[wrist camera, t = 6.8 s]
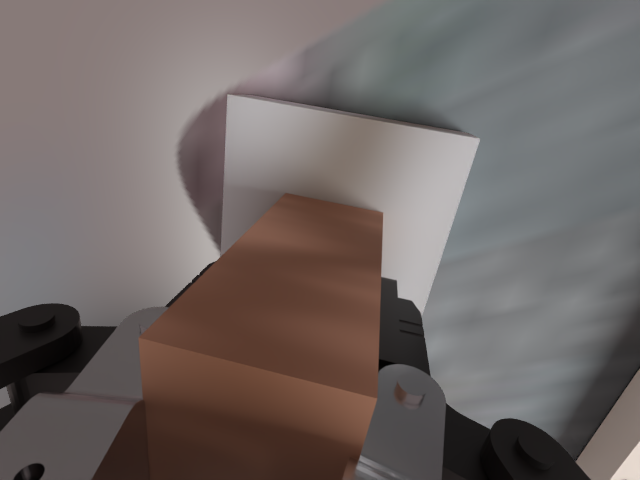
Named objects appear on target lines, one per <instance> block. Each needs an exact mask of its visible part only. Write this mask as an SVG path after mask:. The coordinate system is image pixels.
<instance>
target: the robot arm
mask: <svg viewBox="0 0 640 480" xmlns="http://www.w3.org/2000/svg"><path fill="white" fill-rule="evenodd" d="M215 262H216V261H215ZM215 262H213V263H211V264H209V265H208V266H207V267H206V268H205V269H203V270H202V271H201V272H200V274H199V275H197V276H196V277H195V278H194V279H193V280H192V283H189V284H188V285H187V286H186V287H185V288H184V289H183V290H182V291H181V292H180V293H178V295H176V296H175V297H174V299H172V300H171V301H170V302H169V303H168V304H167V305H166V306H165V307H151V308H146V309H142V310H139V311H137V312H134V313H132V314H131V315H129V316H128V317H126V318H125V319H124V320H123V321H122V322H121V323H120V325H119V326H117V327H103V326H101V327H100V326H97V327H96V326H81V322H80V316H79V313H78V311H77V310H76V309H75V308H73V307H71V306H69V305H64V304H41V305H36V306H31V307H27V308H24V309H21V310H18V311H15V312H13V313H9V314H7V315H4V316H1V317H0V389H1V388H3V387H5V386H6V387H7V391H8V394H9V398H10V401H11V404H9V405H7V406H5V407H3V408H1V409H0V480H150V475H149V461H148V438H147V423H146V408H145V401H144V400H143V394H142V380H141V366H140V353H139V339H138V338H139V337H140V336H141V335H142V334H143V333H144V332H145V331H146V330H147V329H148V328H149V327H150V326H151V325H152V324H153V323H154V322H155V321H156V320H157V319H158V318H159V317H160V316H161V315H162V314H163V313H164V312H165V311H166V310H167V309H168V308H169V307H170V306H171V305H172V304H173V303H174V302H175V301H176V300H177V299H178V298H179V297H180V296H181V295H182V294H183V293H184V292H185V291H186V290H187V289H188V288H190V287H191V286H192V285H193V284H194V283H195V282H196V281H197V280H198V279H199V278H200V277H201V276H202V275H203V274H204V273H205V272H206V271H207V270H208V269H209V268H210V267H211V266H212V265H213V264H214V263H215ZM422 325H423V324H422V317H421V312H420V311H419V310H418V308H417V307H416V306H415V304H414V303H413V301H411V300H407V299H402V298H398V290H397V280H394V279H389V278H385V277H381V300H380V331H379V363H378V394H377V401H376V405H375V408H374V411H373V415H372V418H371V421H370V425H369V428H368V431H367V435H366V438H365V441H364V445H363V448H362V451H361V454H360V458H359V461H358V460H356V459H354V458H352V457H350V458H349V460H348V463H347V466H346V469H345V472H344V476H343V479H342V480H591V479H590V478H589V477H588V476H587V475H586V474H585V472H584V471H583V470H582V469H581V468H580V467H579V465H578V464H577V463H576V462H575V461H574V460H573V459H572V457H571V456H570V455H569V454H568V453H567V452H566V451H565V449H564V448H563V447H562V446H561V445H560V444H559V443H558V442H557V441H556V440H554V439H553V438H552V437H551V436H550V435H548V434H547V433H546V432H544V431H543V430H541V429H539V428H538V427H536V426H534V425H532V424H530V423H527V422H525V421H521V420H518V419H511V418H508V419H501V420H499V421H497V422H496V423H495V424H493V426H492V428H491V430H490V429H488V428H486V427H485V426H483V425H481V424H479V423H477V422H475V421H473V420H471V419H469V418H467V417H465V416H463V415H462V414H460V413H458V412H457V411H455V410H454V409H453V408H451V407H450V406H449V405H448V404H447V403H446V399H445V395H444V393H443V391H442V389H441V387H440V386H439V385H438V383H437V382H436V381H435V380H434V379H433V378H432V377H431V376H430V370H429V363H428V357H427V350H426V343H425V338H424V330H423V327H422Z"/></svg>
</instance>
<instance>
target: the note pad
mask: <svg viewBox="0 0 640 480" xmlns="http://www.w3.org/2000/svg"><path fill="white" fill-rule="evenodd" d="M576 463H577V464H578V465H579V467H580V468H581V469H582V470H583V471H584V472H585V474H586V475H587V476H588V477H589V478H590V479H591V480H640V369H639V370H638V372H637V373H636V374H635V376H634V377H633V379H632V380H631V382H630V383H629V385H628V386H627V388H626V389H625V390H624V392H623V393H622V395H621V396H620V398H619V399H618V401H617V402H616V404H615V405H614V406H613V408H612V409H611V411H610V412H609V414H608V415H607V417H606V418H605V420H604V421H603V422H602V424H601V425H600V427H599V428H598V430H597V431H596V433H595V434H594V436H593V437H592V439H591V440H590V441H589V443H588V444H587V446H586V447H585V449H584V450H583V452H582V453H581V455H580V456H579V457H578V459H577V460H576Z"/></svg>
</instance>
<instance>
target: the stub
mask: <svg viewBox="0 0 640 480" xmlns="http://www.w3.org/2000/svg"><path fill="white" fill-rule="evenodd" d="M479 141H480V138H477V137H475V136H473V135H471V134H469V133H465V132H460V131H454V130H448V129H443V128H437V127H431V126H425V125H420V124H414V123H408V122H403V121H397V120H391V119H385V118H380V117H374V116H368V115H363V114H357V113H351V112H346V111H340V110H334V109H328V108H323V107H317V106H311V105H306V104H300V103H294V102H288V101H283V100H277V99H271V98H266V97H260V96H254V95H248V94H227V115H226V138H225V162H224V186H223V209H222V233H221V256H220V258H219V259H218V260H217V261H216V262H215V263H214V264H213V265H212V266H211V267H210V268H209V269H208V270H207V271H206V272H205V273H204V274H203V275H202V276H201V277H200V278H199V279H198V280H197V281H196V282H195V283H194V284H193V285H192V286H191V287H190V288H188V289H187V290H186V291H185V292H184V293H183V294H182V295H181V296H180V297H179V298H178V299H177V300H176V301H175V302H174V303H173V304H172V305H171V306H170V307H169V308H168V309H167V310H166V311H165V312H164V313H163V314H162V315H161V316H160V317H159V318H158V319H157V320H156V321H155V322H154V323H153V324H152V325H151V326H150V327H149V328H148V329H147V330H146V331H145V332H144V333H143V334H142V335H141V336H140V337H139V338H138V339H139V353H140V366H141V380H142V394H143V400H144V401H145V408H146V423H147V438H148V461H149V475H150V480H342V479H343V476H344V472H345V469H346V466H347V463H348V460H349V458H350V457H352V458H354V459H356V460H358V461H359V458H360V454H361V451H362V448H363V445H364V441H365V438H366V435H367V431H368V428H369V425H370V421H371V418H372V415H373V411H374V408H375V405H376V401H377V394H378V363H379V331H380V300H381V277H385V278H389V279H394V280H397V290H398V298H402V299H407V300H411V301H413V303H414V304H415V306H416V307H417V308H418V310H419V311H420V312H421V317H422V314H423V311H424V308H425V305H426V302H427V299H428V296H429V293H430V290H431V287H432V284H433V281H434V278H435V275H436V272H437V269H438V266H439V263H440V260H441V256H442V253H443V250H444V247H445V244H446V241H447V238H448V235H449V232H450V229H451V226H452V223H453V220H454V217H455V214H456V211H457V208H458V205H459V202H460V199H461V196H462V193H463V190H464V187H465V184H466V181H467V178H468V175H469V172H470V168H471V165H472V162H473V159H474V156H475V153H476V150H477V147H478V144H479Z"/></svg>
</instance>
